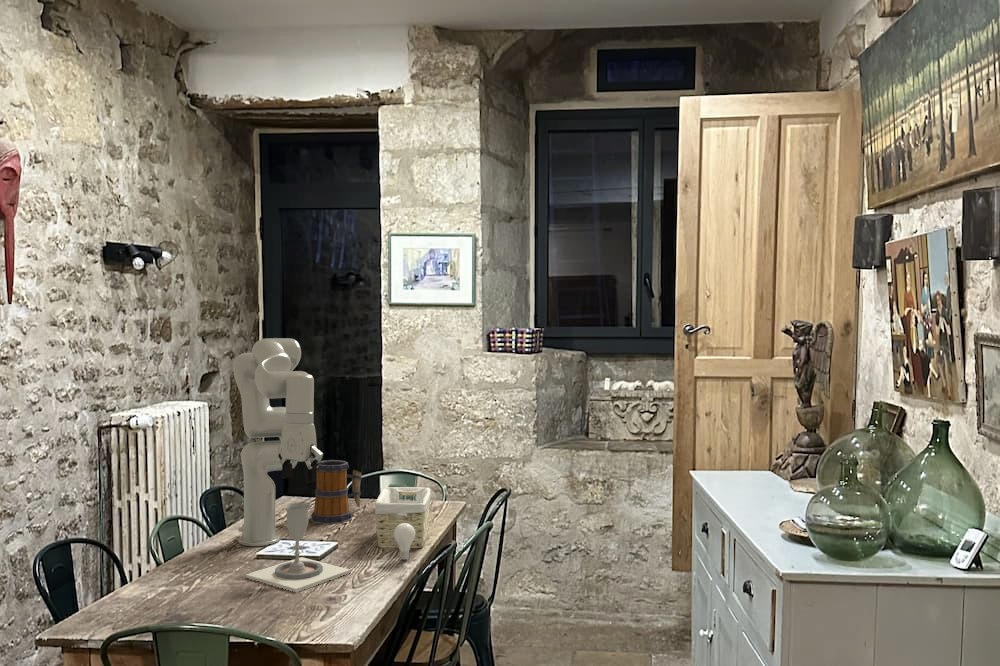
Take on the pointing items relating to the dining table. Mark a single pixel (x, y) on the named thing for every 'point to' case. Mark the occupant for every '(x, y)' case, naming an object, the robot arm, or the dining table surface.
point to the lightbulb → (404, 539)
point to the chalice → (297, 531)
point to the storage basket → (402, 514)
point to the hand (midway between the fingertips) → (299, 480)
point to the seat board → (298, 575)
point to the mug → (334, 492)
